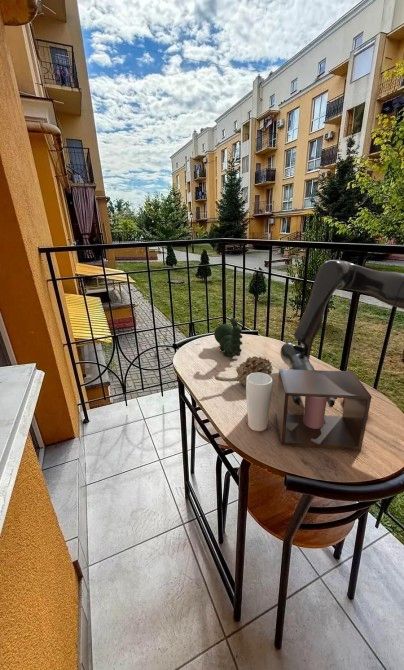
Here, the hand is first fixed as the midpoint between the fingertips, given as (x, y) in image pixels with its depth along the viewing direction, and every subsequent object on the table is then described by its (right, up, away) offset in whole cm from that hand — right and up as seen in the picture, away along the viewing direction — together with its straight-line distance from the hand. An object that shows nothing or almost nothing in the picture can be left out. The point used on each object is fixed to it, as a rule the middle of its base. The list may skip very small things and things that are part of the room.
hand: (315, 403), depth 75 cm
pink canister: (0, -6, +2) cm, 6 cm away
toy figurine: (-19, +11, +52) cm, 56 cm away
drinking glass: (-15, -7, +3) cm, 17 cm away
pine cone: (-16, 0, +23) cm, 28 cm away
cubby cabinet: (0, -8, 0) cm, 8 cm away
